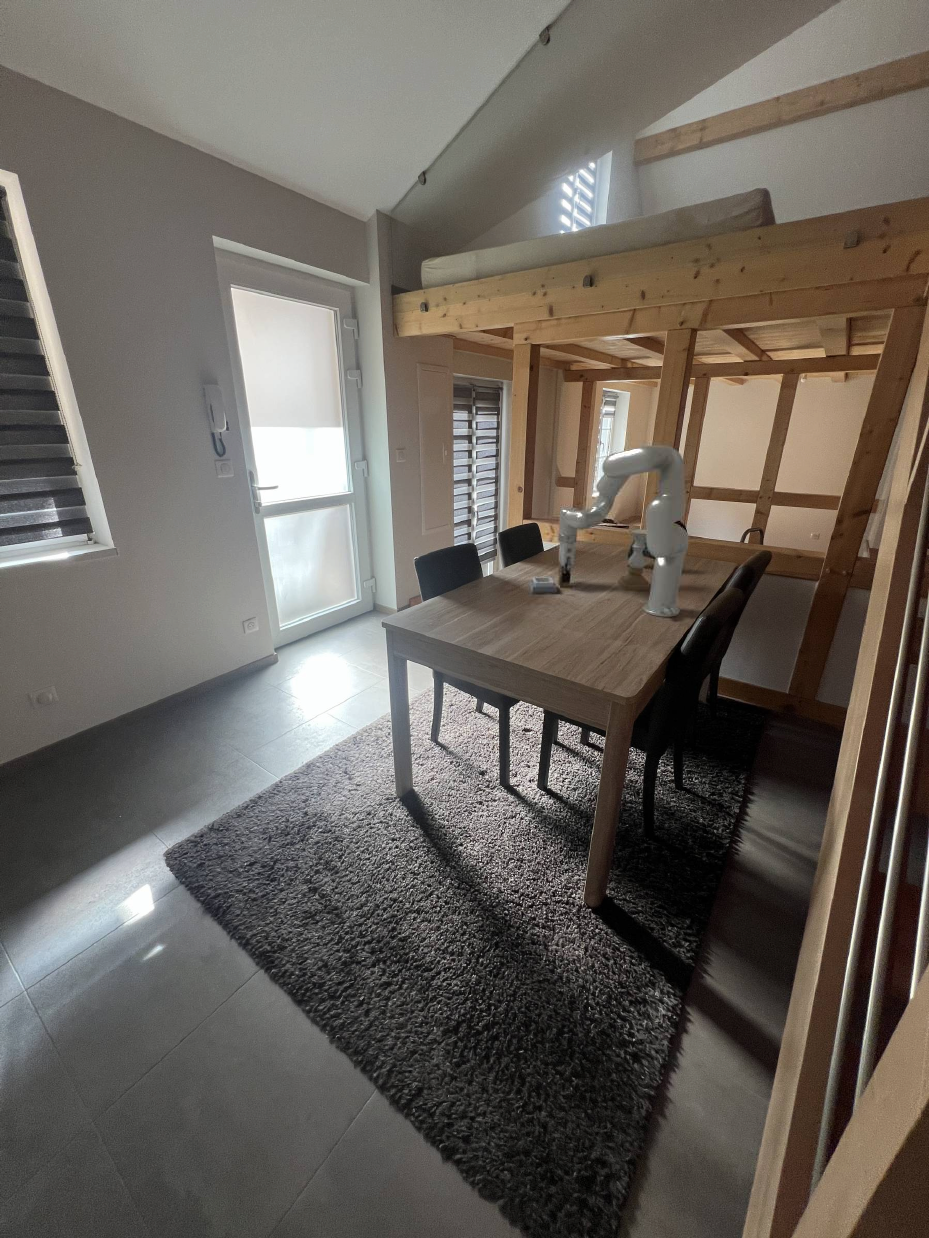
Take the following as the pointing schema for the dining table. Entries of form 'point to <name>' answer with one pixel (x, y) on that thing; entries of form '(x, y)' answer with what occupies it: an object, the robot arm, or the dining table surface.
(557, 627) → the dining table surface
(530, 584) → the candle tray
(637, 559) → the candle holder
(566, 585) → the brown tall boxy piece
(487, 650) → the dining table surface
